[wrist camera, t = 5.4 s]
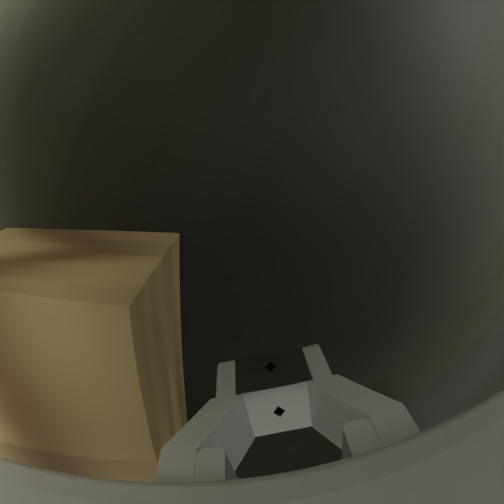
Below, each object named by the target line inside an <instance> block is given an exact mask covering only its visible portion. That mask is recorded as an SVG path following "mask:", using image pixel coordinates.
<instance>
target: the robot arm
mask: <svg viewBox="0 0 504 504" xmlns="http://www.w3.org/2000/svg"><path fill="white" fill-rule="evenodd" d="M310 426H312V427H313V428H314V429H315V430H317V431H318V432H319V433H320V434H322V435H323V436H324V437H326V438H327V439H328V440H330V441H331V442H332V443H333V444H335V445H336V446H337V447H339V448H340V449H341V450H342V460H338V461H334V462H330V463H326V464H322V465H318V466H314V467H309V468H305V469H300V470H295V471H290V472H284V473H279V474H273V475H266V476H259V477H252V478H244V479H238V477H237V475H236V473H235V470H236V469H237V467H238V466H239V464H240V462H241V461H242V459H243V457H244V456H245V454H246V452H247V451H248V449H249V447H250V446H251V444H252V442H253V441H254V439H255V438H254V437H258V436H263V435H269V434H274V433H278V432H283V431H289V430H295V429H300V428H305V427H310ZM0 504H504V389H502V390H501V391H499V392H498V393H496V394H494V395H493V396H491V397H489V398H488V399H486V400H484V401H482V402H481V403H479V404H477V405H475V406H473V407H472V408H470V409H468V410H466V411H464V412H462V413H460V414H458V415H456V416H454V417H452V418H450V419H448V420H446V421H444V422H442V423H440V424H438V425H436V426H433V427H431V428H429V429H427V430H424V431H422V432H420V430H419V429H418V427H417V426H416V424H415V422H414V421H413V419H412V417H411V416H410V414H409V413H408V411H407V409H406V408H405V406H404V405H403V403H401V402H399V401H396V400H394V399H391V398H389V397H387V396H385V395H382V394H380V393H378V392H375V391H373V390H371V389H369V388H366V387H364V386H362V385H360V384H357V383H355V382H353V381H351V380H349V379H347V378H344V377H342V376H340V375H338V374H337V375H332V372H331V370H330V368H329V366H328V364H327V361H326V359H325V357H324V355H323V352H322V350H321V348H320V346H319V345H318V344H314V345H310V346H306V347H302V348H300V349H295V350H291V351H286V352H282V353H277V354H272V355H265V356H259V357H253V358H246V359H240V360H236V361H235V360H233V361H227V362H220V363H219V364H218V366H217V383H216V398H212V399H210V400H209V401H208V402H207V403H206V404H205V405H204V406H203V407H202V408H201V409H200V410H199V411H198V412H197V413H196V414H195V416H194V417H193V418H192V419H191V420H190V421H189V422H188V423H187V424H186V425H185V426H184V427H183V428H182V429H181V430H180V431H179V432H178V433H177V434H176V435H175V436H174V437H173V438H172V439H171V440H170V441H168V442H167V443H166V444H165V445H164V446H163V447H162V448H161V452H160V457H159V462H158V467H157V472H156V477H155V482H136V481H122V480H111V479H102V478H94V477H87V476H80V475H74V474H69V473H63V472H58V471H53V470H48V469H44V468H40V467H36V466H32V465H28V464H24V463H20V462H17V461H13V460H10V459H7V458H3V457H0Z"/></svg>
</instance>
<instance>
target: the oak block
mask: <svg viewBox="0 0 504 504" xmlns="http://www.w3.org/2000/svg"><path fill="white" fill-rule="evenodd" d="M179 239H180V233H163V232H137V231H109V230H78V229H41V228H6V229H3V230H1V231H0V457H3V458H7V459H10V460H13V461H17V462H20V463H24V464H28V465H32V466H36V467H40V468H44V469H48V470H53V471H58V472H63V473H69V474H74V475H80V476H87V477H94V478H102V479H111V480H122V481H136V482H155V477H156V472H157V467H158V462H159V457H160V452H161V448H162V447H163V446H164V445H165V444H166V443H167V442H168V441H170V440H171V439H172V438H173V437H174V436H175V435H176V434H177V433H178V432H179V431H180V430H181V429H182V428H183V427H184V426H185V425H186V424H187V423H188V422H187V412H186V400H185V388H184V374H183V358H182V340H181V315H180V267H179Z"/></svg>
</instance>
